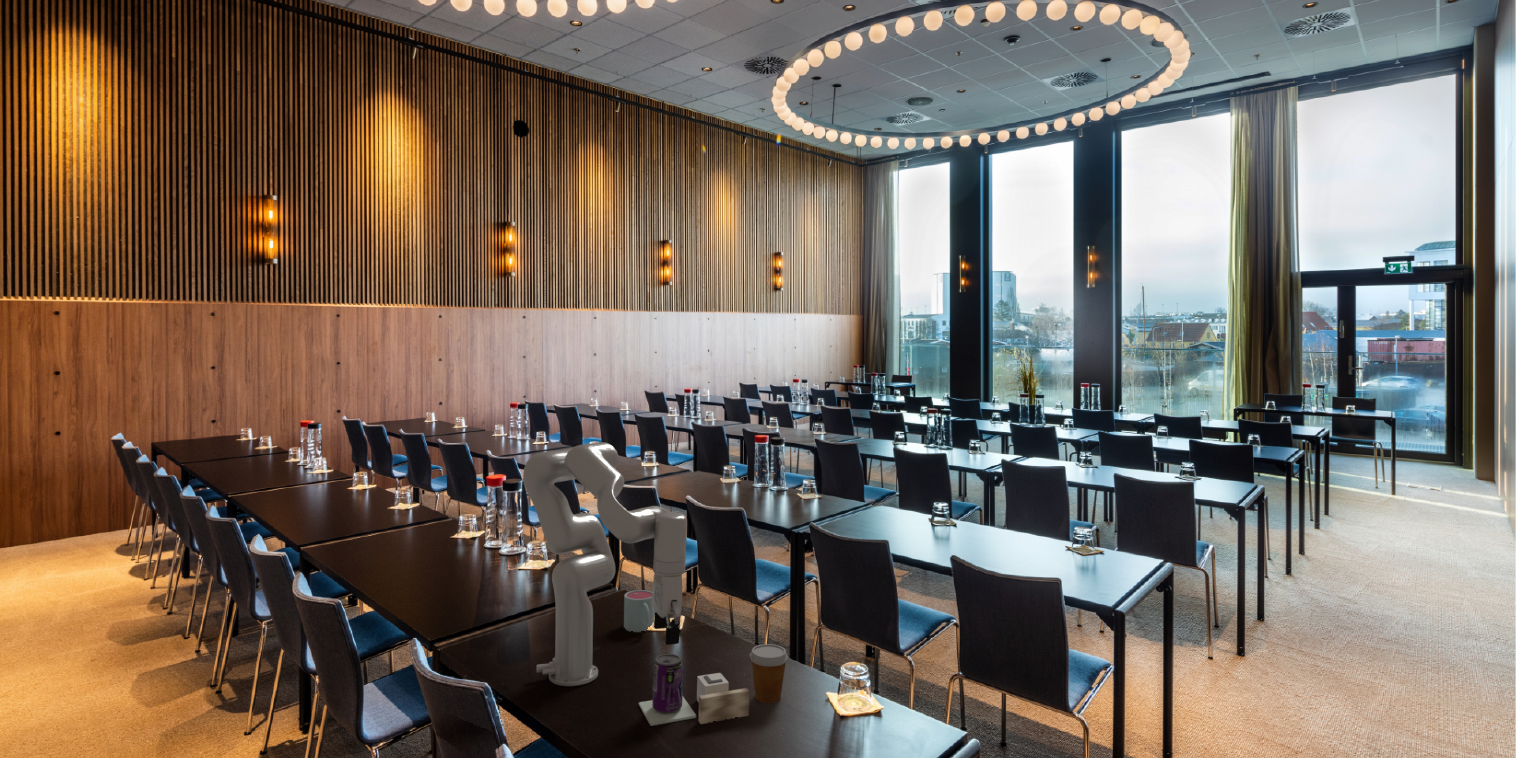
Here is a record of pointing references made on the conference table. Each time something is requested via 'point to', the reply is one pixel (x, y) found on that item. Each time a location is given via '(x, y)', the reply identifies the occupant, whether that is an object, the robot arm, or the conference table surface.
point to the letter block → (711, 684)
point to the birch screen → (723, 705)
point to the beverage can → (667, 683)
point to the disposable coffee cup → (768, 671)
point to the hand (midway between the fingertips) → (666, 635)
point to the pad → (661, 718)
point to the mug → (638, 610)
